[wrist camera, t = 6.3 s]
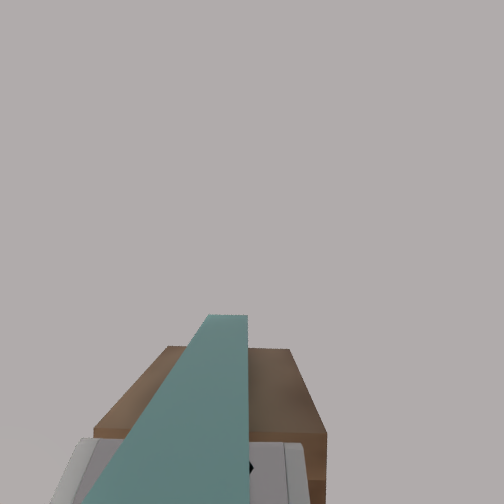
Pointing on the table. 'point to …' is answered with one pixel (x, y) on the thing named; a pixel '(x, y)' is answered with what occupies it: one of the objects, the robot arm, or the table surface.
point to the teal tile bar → (190, 429)
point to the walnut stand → (260, 408)
